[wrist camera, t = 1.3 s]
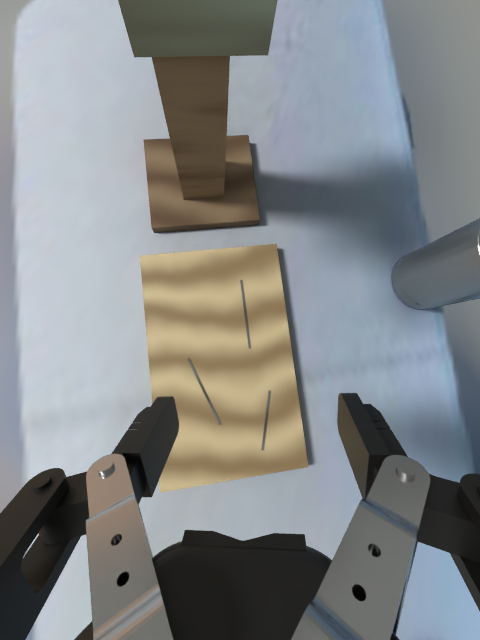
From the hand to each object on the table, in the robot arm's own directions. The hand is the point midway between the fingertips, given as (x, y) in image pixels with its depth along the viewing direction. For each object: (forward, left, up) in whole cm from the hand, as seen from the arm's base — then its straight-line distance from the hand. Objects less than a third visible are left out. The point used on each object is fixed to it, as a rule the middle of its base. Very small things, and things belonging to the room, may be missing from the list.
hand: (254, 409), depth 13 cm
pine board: (0, -2, -26) cm, 26 cm away
